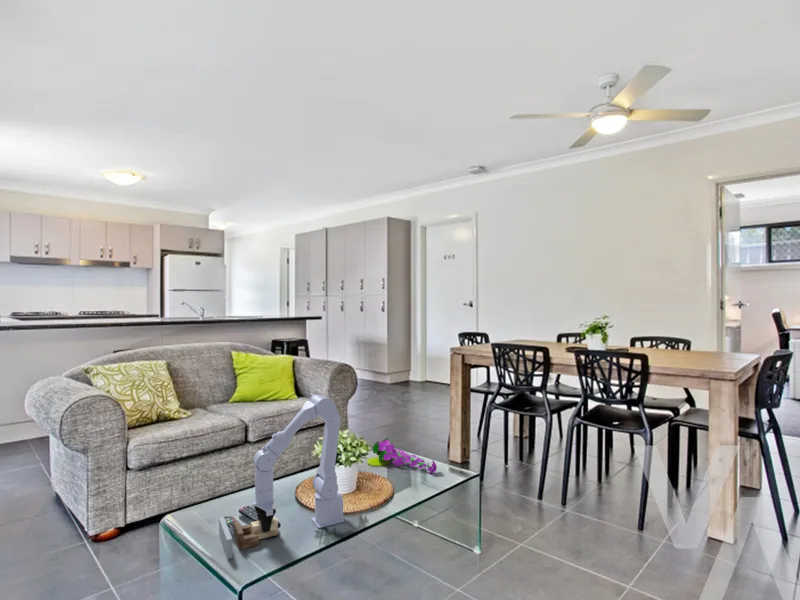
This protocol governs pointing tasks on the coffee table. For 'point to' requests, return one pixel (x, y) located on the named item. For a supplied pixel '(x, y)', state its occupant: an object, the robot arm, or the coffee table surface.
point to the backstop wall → (225, 538)
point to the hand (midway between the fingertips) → (264, 528)
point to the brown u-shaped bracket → (244, 536)
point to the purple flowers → (398, 456)
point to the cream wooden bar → (257, 529)
